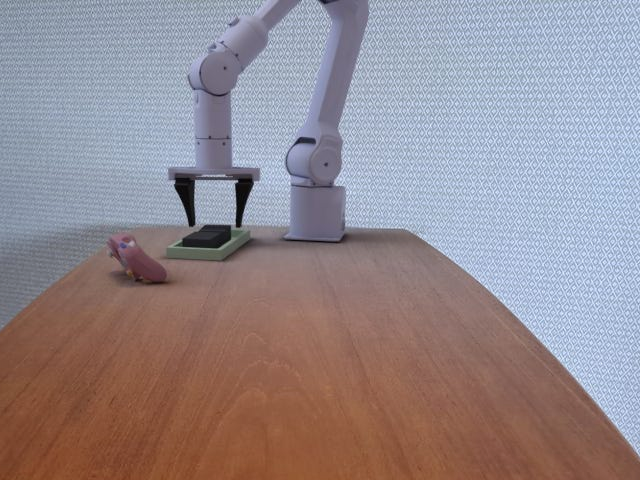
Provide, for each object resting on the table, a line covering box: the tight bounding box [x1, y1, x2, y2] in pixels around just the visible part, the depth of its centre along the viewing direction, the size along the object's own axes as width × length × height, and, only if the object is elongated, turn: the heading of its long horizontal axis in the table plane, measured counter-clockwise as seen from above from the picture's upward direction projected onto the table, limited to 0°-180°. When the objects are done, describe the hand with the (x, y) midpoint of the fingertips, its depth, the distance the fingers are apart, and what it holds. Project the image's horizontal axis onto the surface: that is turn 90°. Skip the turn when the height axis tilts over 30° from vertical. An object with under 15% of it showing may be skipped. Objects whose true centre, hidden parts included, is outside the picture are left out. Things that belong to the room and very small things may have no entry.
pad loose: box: [198, 224, 232, 246], centre depth 110 cm, size 6×4×2 cm
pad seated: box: [181, 231, 222, 249], centre depth 104 cm, size 6×4×2 cm
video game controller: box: [106, 232, 167, 283], centre depth 89 cm, size 10×5×7 cm, turn 25°
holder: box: [165, 228, 251, 262], centre depth 108 cm, size 18×9×2 cm, turn 166°
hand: (215, 226), depth 110 cm, fingers open, 7 cm apart
